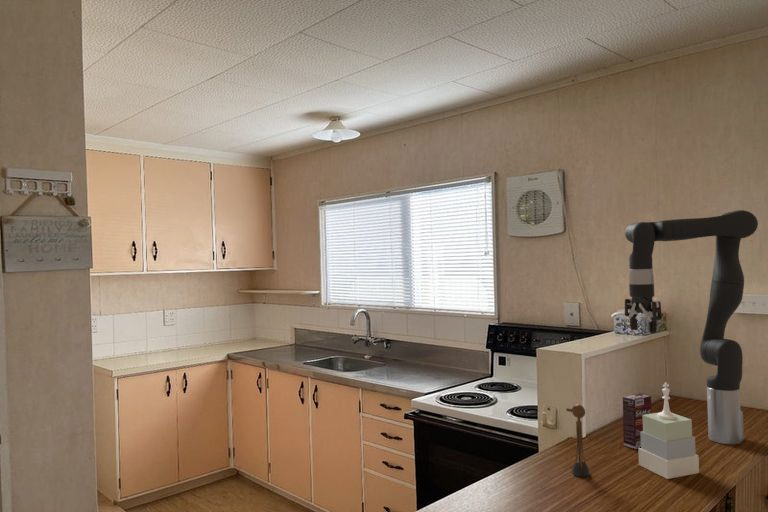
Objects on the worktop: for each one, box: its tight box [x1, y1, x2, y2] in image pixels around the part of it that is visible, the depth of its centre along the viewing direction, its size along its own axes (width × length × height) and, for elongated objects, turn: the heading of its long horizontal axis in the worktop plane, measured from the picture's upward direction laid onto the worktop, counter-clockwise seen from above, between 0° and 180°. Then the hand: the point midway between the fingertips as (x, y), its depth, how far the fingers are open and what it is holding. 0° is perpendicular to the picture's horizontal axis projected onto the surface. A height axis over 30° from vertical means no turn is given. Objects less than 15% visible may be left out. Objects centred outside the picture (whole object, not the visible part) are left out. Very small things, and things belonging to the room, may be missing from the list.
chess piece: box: [657, 382, 676, 420], centre depth 164 cm, size 5×5×10 cm
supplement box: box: [622, 393, 653, 450], centre depth 184 cm, size 9×5×16 cm, turn 119°
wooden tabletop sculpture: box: [565, 403, 591, 478], centre depth 163 cm, size 6×5×20 cm
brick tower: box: [637, 411, 700, 480], centre depth 164 cm, size 11×11×15 cm
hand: (643, 331), depth 188 cm, fingers open, 8 cm apart
